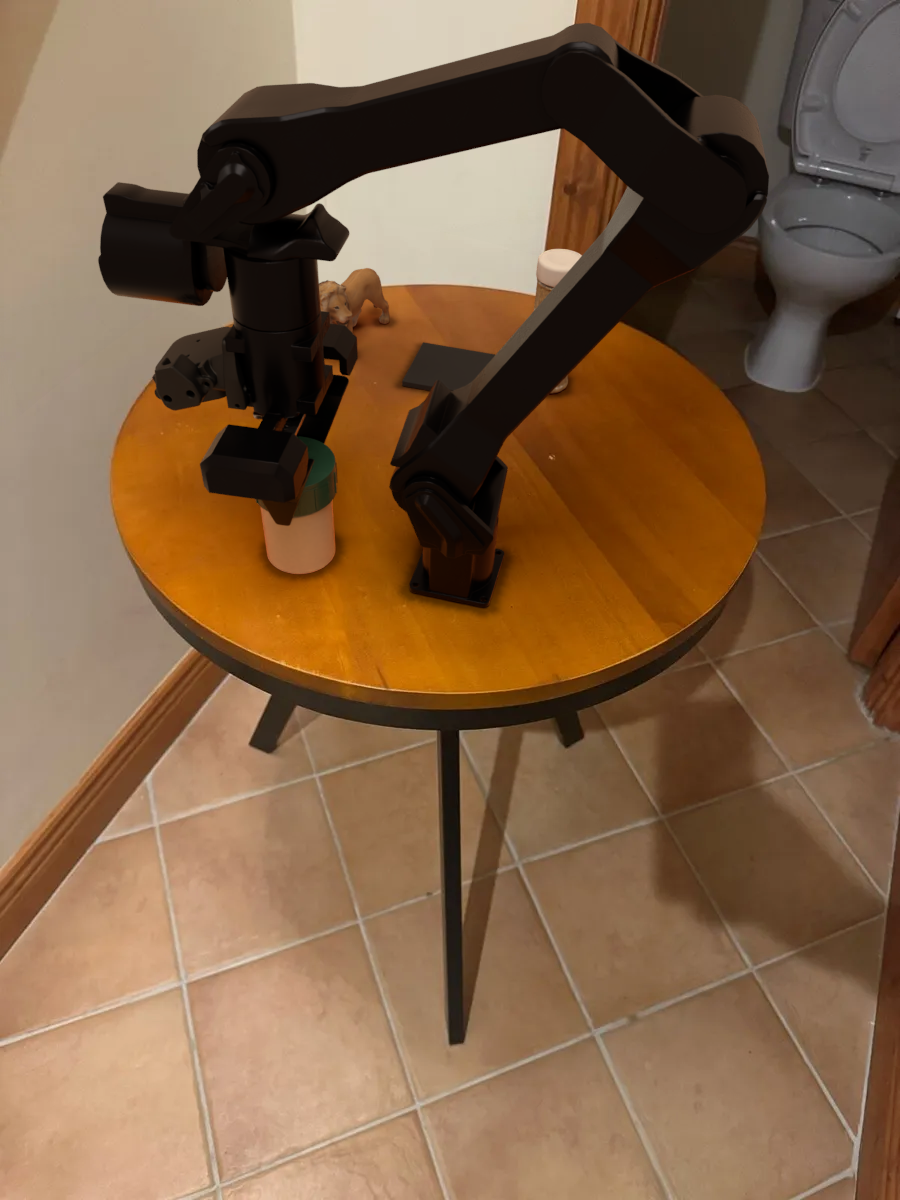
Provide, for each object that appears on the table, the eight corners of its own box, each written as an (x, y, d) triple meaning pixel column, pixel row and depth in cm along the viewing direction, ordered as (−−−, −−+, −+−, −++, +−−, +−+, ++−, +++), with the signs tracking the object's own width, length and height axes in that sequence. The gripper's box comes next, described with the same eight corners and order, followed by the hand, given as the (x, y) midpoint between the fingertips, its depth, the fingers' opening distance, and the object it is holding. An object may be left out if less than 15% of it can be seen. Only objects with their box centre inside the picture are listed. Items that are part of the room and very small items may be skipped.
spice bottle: (546, 367, 96) (563, 242, 86) (576, 386, 93) (597, 260, 84) (514, 380, 94) (528, 254, 84) (544, 400, 91) (562, 273, 81)
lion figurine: (349, 379, 92) (346, 297, 86) (301, 369, 93) (294, 287, 87) (397, 313, 102) (397, 234, 96) (353, 304, 103) (350, 226, 97)
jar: (322, 580, 72) (315, 498, 66) (256, 566, 73) (243, 484, 67) (344, 535, 76) (340, 454, 70) (282, 522, 77) (272, 441, 71)
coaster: (478, 399, 91) (478, 394, 90) (401, 386, 92) (401, 381, 92) (495, 359, 96) (495, 354, 96) (422, 346, 97) (422, 341, 97)
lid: (350, 475, 71) (349, 447, 69) (315, 525, 67) (313, 497, 65) (276, 456, 73) (272, 428, 71) (236, 504, 68) (232, 476, 66)
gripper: (207, 235, 66) (234, 415, 77) (97, 370, 53) (149, 562, 64) (355, 253, 65) (361, 432, 76) (281, 394, 52) (301, 584, 64)
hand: (295, 496), depth 70 cm, fingers closed on lid, 6 cm apart
